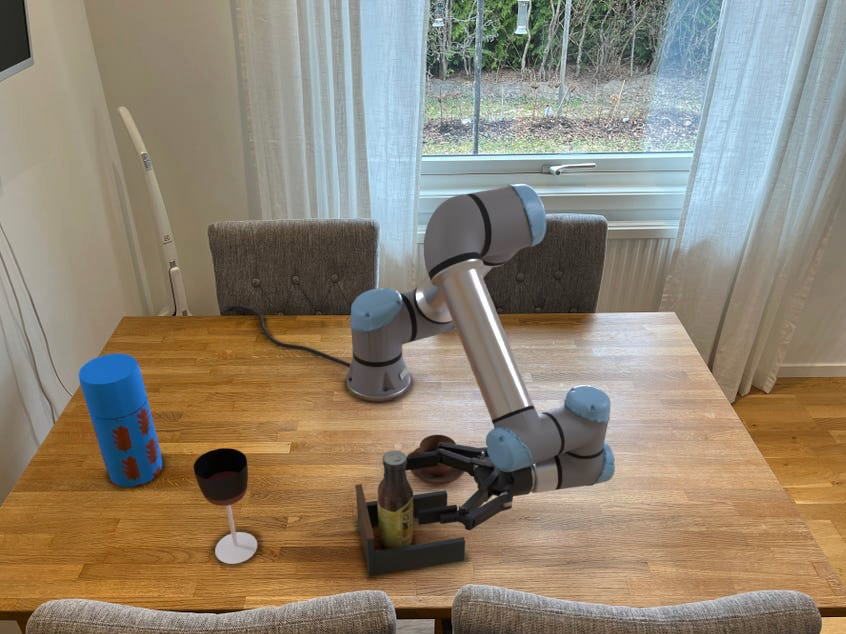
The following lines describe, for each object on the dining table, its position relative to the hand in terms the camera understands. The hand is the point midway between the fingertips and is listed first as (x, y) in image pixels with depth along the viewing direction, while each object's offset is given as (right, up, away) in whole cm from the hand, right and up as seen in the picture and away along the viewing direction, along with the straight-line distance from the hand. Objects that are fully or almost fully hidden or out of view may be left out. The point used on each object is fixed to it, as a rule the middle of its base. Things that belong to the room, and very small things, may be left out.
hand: (409, 489), depth 124 cm
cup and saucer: (+6, 0, +23) cm, 24 cm away
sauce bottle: (-2, -11, +7) cm, 13 cm away
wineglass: (-31, -12, +6) cm, 34 cm away
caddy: (0, -11, +7) cm, 13 cm away
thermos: (-56, 0, +24) cm, 61 cm away
